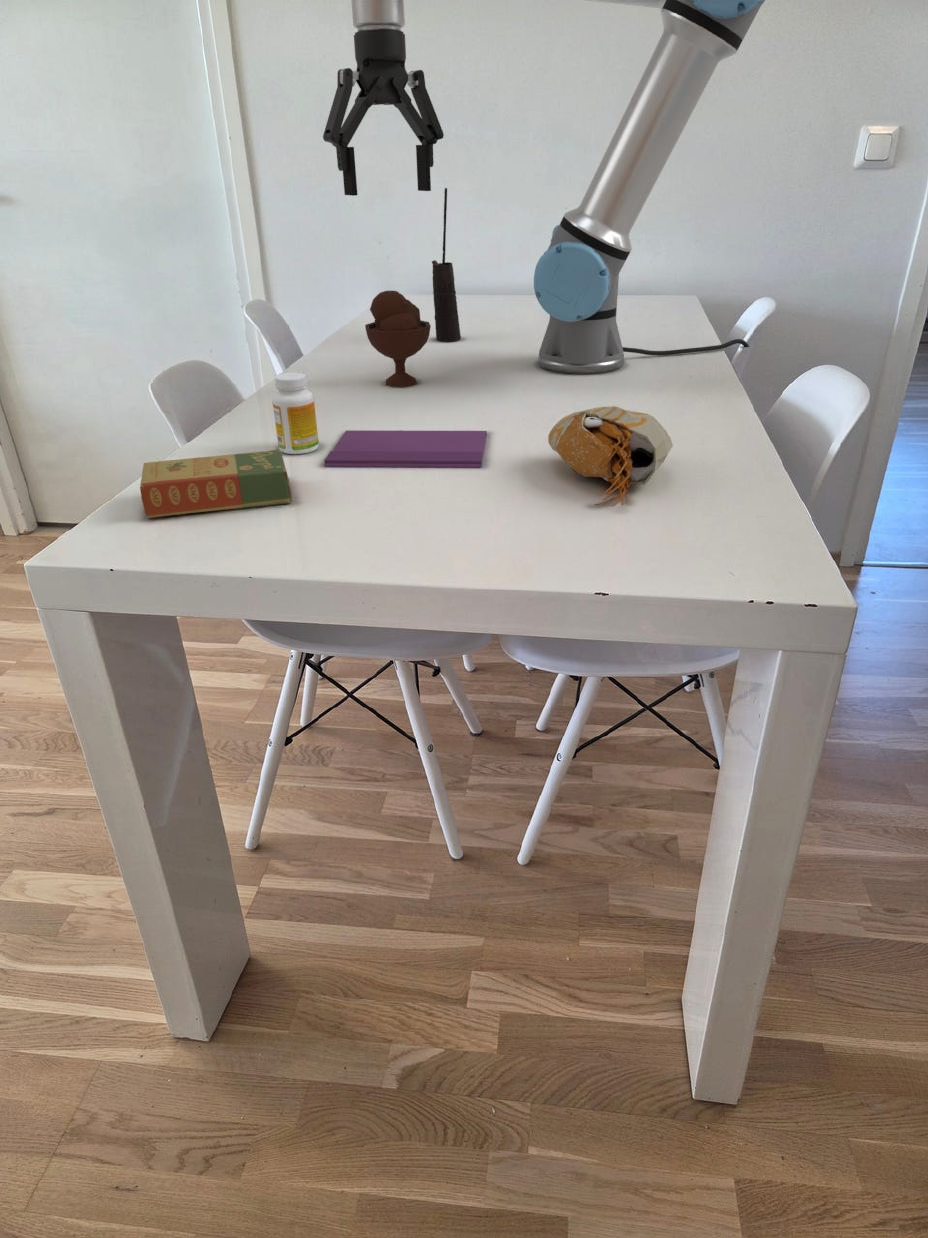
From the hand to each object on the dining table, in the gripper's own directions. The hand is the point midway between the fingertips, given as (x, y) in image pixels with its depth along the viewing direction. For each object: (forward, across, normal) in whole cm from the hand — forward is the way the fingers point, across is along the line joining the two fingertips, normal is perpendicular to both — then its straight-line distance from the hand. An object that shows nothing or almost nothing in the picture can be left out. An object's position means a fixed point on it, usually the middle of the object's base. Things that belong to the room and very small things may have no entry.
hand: (388, 193), depth 133 cm
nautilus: (+29, +9, +60) cm, 68 cm away
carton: (+29, +47, +36) cm, 66 cm away
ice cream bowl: (+29, +2, +4) cm, 29 cm away
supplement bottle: (+29, +32, +25) cm, 50 cm away
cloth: (+29, +20, +35) cm, 50 cm away
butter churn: (+29, -24, -20) cm, 43 cm away
